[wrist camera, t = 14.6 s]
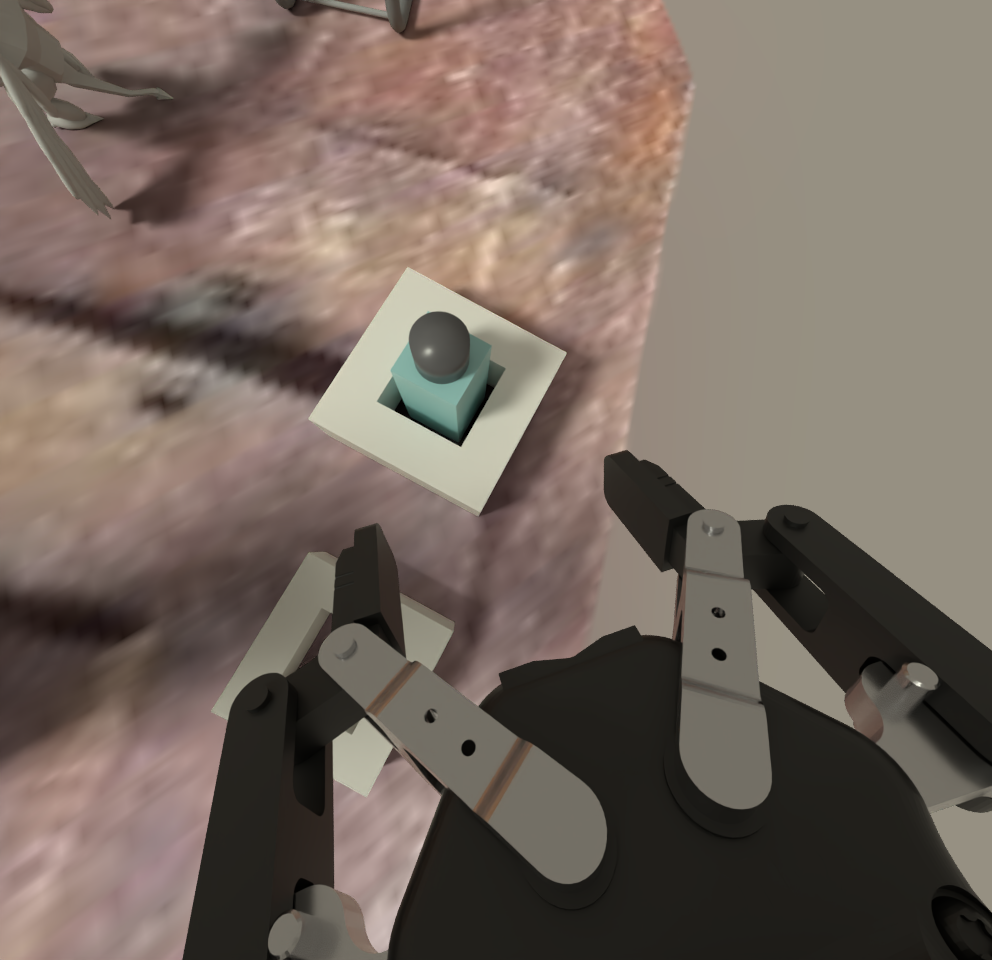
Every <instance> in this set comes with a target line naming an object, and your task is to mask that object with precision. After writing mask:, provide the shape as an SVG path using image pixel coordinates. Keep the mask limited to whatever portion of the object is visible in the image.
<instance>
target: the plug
mask: <svg viewBox="0 0 992 960" xmlns="http://www.w3.org/2000/svg"><path fill="white" fill-rule="evenodd" d="M491 348H492V345H490V344H488V343H486V342H484V341H482V340H481V339H479V338H477V337H475V336H473V335H471V334H470V333H469V332H468V329H467V327H466V325H465V324H464V323H463V322H462V321H461V320H460V319H459V318H458V317H456V316H455V315H453V314H450V313H447V312H441V311H436V312H429V311H428V312H427V313H426V314H425V315H423V316H421V317H420V318H419V319H417V320H416V321H415V323H414V324H413V326H412V327H411V330H410V333H409V342H408V343H407V345H406V346H405V348H404V349H403V351H402V353H401V354H400V356H399V357H398V359H397V360H396V362H395V364H394V365H393V367H392V368H391V370H390V371H391V373H392V376H393V378H394V380H395V383H396V385H397V387H398V390H399V392H400V394H401V397H402V399H403V401H404V404H405V406H406V408H407V411H408V413H409V415H410V417H411V418H413V419H415V420H417V421H419V422H421V423H422V424H424V425H426V426H428V427H430V428H432V429H433V430H435V431H437V432H439V433H441V434H443V435H444V436H446V437H448V438H450V439H452V440H454V441H455V442H457V443H459V441H460V440H461V438H462V436H463V434H464V433H465V431H466V429H467V428H468V426H469V424H470V422H471V421H472V419H473V417H474V415H475V414H476V412H477V410H478V409H479V407H480V405H481V403H482V402H483V400H484V398H485V393H486V385H487V378H488V371H489V363H490V356H491Z"/></svg>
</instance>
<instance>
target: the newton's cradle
mask: <svg viewBox="0 0 992 960" xmlns="http://www.w3.org/2000/svg"><path fill="white" fill-rule="evenodd" d="M275 1H276V2H277V3H278V4H279V5H280V6H281V7H283V8H284V9H288V8H292V7H293V5H294V3H295V1H296V0H275ZM302 1H307V2H312V3H316V4H321V5H326V6H331V7H335V8H340V9H345V10H349V11H354V12H359V13H363V14H368V15H373V16H378V17H382V18H387V19H389V22H390V25H391V27H392V28H393V29H394V30H395V31H396V32H398V33H400V32H402V31H404V29H405V27H406V24H407V21H408V17H409V12H410V8H411V4H412V0H385V4H386V10H387V11H382V10H377V9H373V8H368V7H363V6H359V5H354V4H349V3H344V2H340V1H335V0H302Z"/></svg>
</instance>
